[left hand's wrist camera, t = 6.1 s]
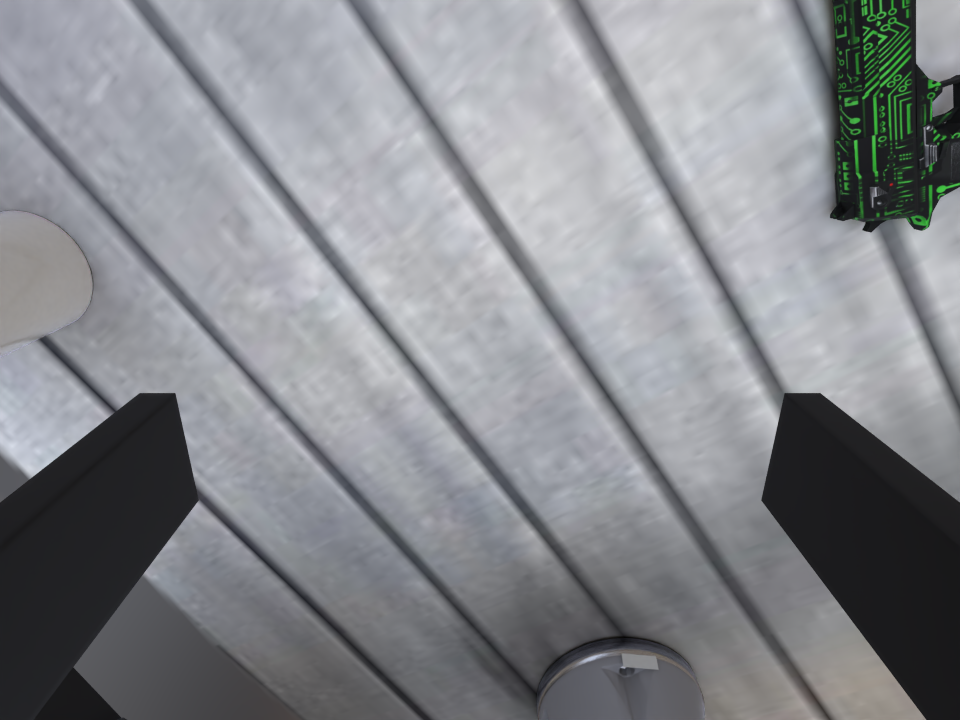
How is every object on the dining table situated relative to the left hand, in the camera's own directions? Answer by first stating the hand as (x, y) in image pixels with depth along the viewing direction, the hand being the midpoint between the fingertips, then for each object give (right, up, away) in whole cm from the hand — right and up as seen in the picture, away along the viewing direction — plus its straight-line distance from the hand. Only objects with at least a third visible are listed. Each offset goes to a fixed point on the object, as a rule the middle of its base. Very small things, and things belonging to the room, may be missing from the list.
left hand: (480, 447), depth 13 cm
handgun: (+28, +18, +23) cm, 40 cm away
